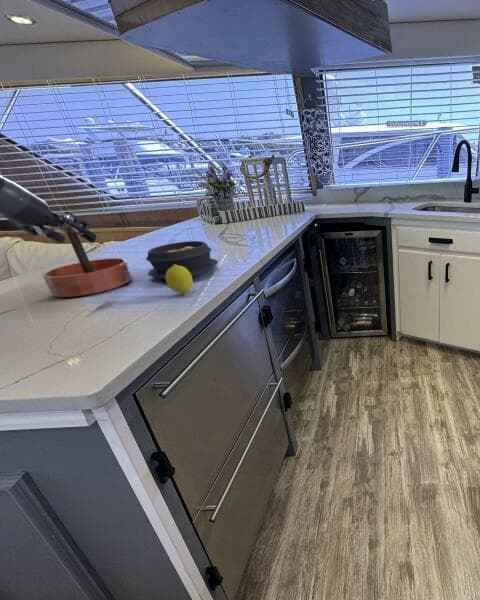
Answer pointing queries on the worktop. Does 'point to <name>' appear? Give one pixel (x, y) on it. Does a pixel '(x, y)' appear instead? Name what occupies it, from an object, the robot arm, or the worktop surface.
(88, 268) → the muddler
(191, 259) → the casserole
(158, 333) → the worktop surface
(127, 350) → the worktop surface
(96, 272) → the bowl
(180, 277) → the lemon
